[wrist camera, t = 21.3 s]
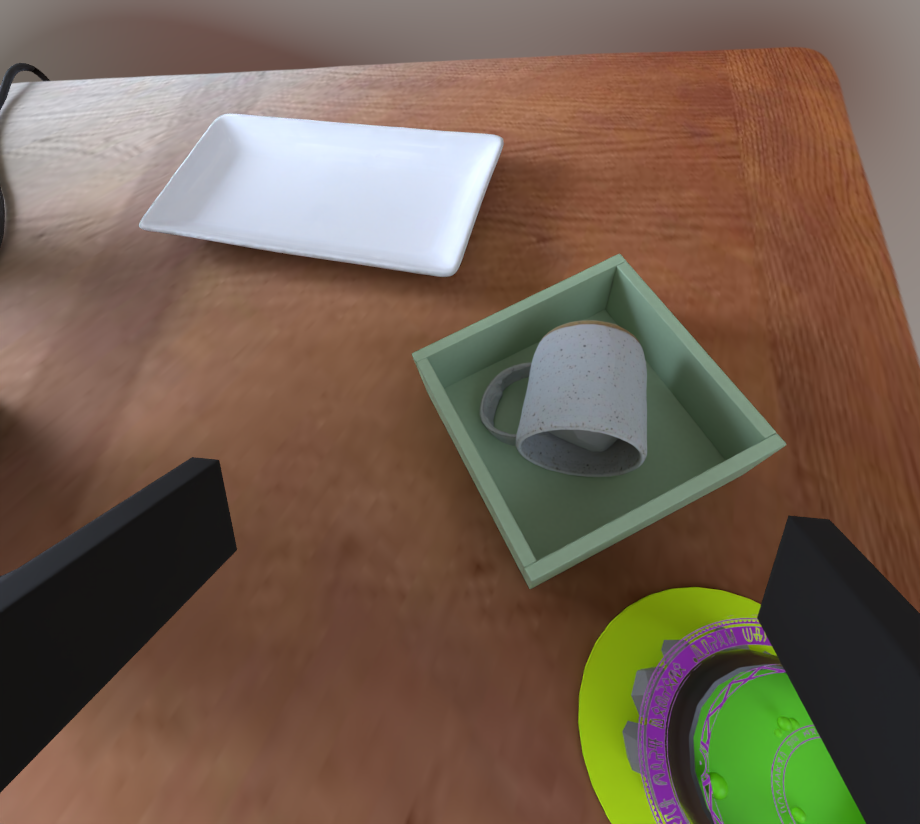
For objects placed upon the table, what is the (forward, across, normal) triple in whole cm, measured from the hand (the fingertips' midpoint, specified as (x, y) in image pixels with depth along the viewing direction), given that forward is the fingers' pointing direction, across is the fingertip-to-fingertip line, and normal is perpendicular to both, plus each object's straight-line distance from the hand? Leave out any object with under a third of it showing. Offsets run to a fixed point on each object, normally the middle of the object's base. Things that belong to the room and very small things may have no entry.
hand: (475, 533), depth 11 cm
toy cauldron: (+11, +12, -19) cm, 25 cm away
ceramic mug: (+22, +3, -6) cm, 24 cm away
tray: (+38, -20, +8) cm, 44 cm away
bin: (+23, +4, -7) cm, 24 cm away
